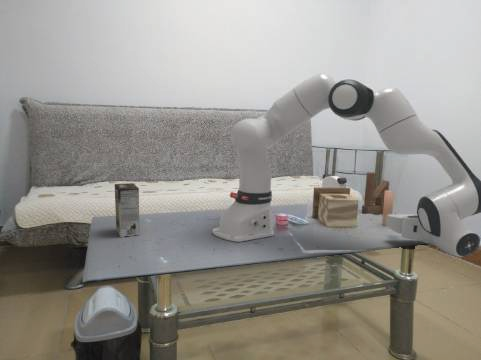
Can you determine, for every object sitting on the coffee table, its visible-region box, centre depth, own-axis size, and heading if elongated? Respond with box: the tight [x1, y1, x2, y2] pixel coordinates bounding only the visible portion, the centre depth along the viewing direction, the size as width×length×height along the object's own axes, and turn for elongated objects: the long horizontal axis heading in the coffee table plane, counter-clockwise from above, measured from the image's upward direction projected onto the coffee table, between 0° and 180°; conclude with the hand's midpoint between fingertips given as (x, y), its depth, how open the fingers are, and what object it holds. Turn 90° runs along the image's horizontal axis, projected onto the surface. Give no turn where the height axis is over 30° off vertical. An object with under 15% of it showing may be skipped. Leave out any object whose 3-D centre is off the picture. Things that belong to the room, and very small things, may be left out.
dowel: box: [381, 190, 395, 227], centre depth 136 cm, size 3×3×14 cm
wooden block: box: [361, 171, 390, 215], centre depth 157 cm, size 4×11×18 cm, turn 114°
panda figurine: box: [321, 173, 348, 188], centre depth 163 cm, size 12×11×15 cm
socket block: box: [317, 193, 359, 228], centre depth 137 cm, size 11×11×10 cm
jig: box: [311, 187, 351, 219], centre depth 134 cm, size 23×16×13 cm
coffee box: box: [114, 183, 140, 238], centre depth 121 cm, size 9×6×16 cm
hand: (405, 215), depth 124 cm, fingers open, 8 cm apart
